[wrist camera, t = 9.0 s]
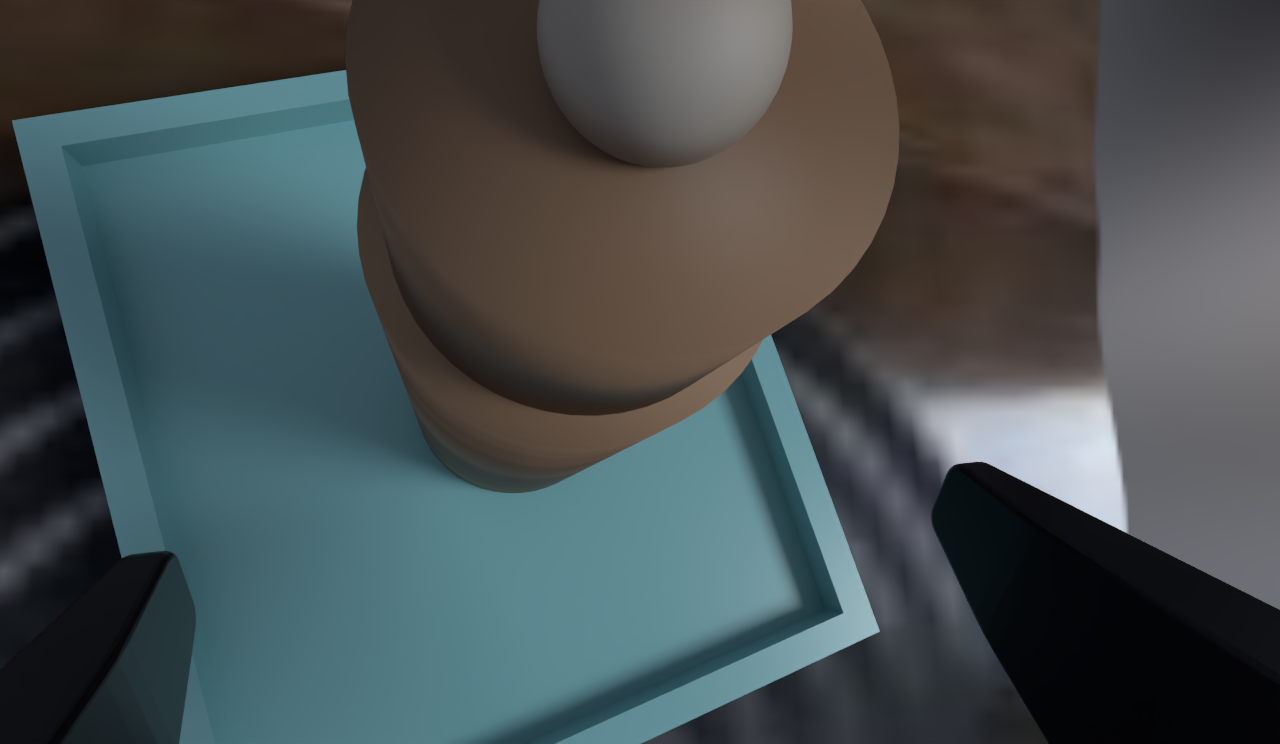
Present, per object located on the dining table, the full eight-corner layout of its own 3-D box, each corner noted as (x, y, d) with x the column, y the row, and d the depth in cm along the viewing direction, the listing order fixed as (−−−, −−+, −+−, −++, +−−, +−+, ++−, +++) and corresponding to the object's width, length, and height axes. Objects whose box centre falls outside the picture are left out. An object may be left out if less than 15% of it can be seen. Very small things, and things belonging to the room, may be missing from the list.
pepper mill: (590, 510, 19) (1046, 432, 4) (392, 472, 18) (93, 201, 3) (625, 328, 20) (1068, -219, 5) (441, 283, 19) (384, -522, 5)
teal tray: (840, 621, 21) (879, 631, 19) (244, 893, 16) (217, 942, 14) (639, 64, 23) (656, 23, 21) (57, 162, 18) (11, 120, 16)
